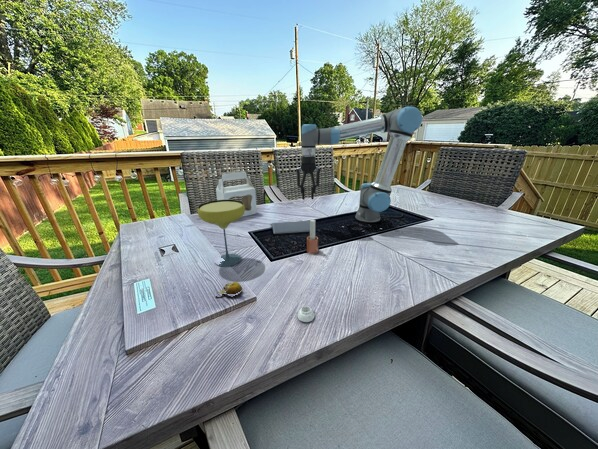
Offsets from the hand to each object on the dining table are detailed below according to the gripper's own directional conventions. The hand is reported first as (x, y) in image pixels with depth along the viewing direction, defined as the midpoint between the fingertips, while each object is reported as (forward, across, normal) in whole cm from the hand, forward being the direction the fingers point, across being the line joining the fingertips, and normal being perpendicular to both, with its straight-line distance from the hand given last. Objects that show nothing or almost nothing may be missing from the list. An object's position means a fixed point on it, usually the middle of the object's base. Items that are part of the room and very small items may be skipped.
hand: (307, 198), depth 138 cm
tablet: (+17, -9, 0) cm, 19 cm away
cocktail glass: (+17, -42, -33) cm, 56 cm away
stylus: (+17, -4, -31) cm, 35 cm away
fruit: (+17, -39, -56) cm, 70 cm away
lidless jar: (+17, -15, -73) cm, 76 cm away
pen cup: (+17, -4, -31) cm, 36 cm away
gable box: (+18, -42, +32) cm, 55 cm away
